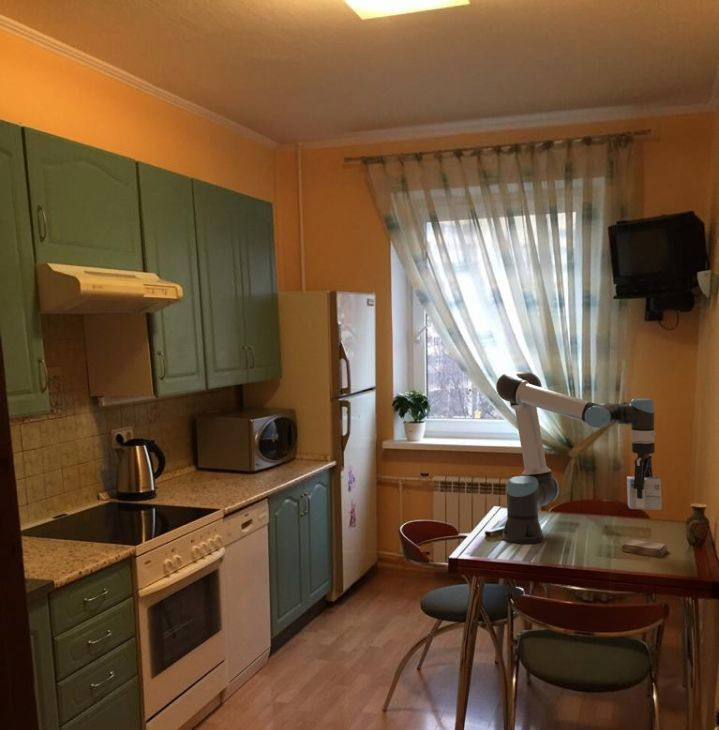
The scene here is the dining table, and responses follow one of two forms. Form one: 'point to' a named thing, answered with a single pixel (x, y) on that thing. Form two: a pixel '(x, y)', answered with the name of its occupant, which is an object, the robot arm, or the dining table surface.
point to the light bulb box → (651, 493)
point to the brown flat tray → (645, 548)
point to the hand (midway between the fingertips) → (643, 505)
